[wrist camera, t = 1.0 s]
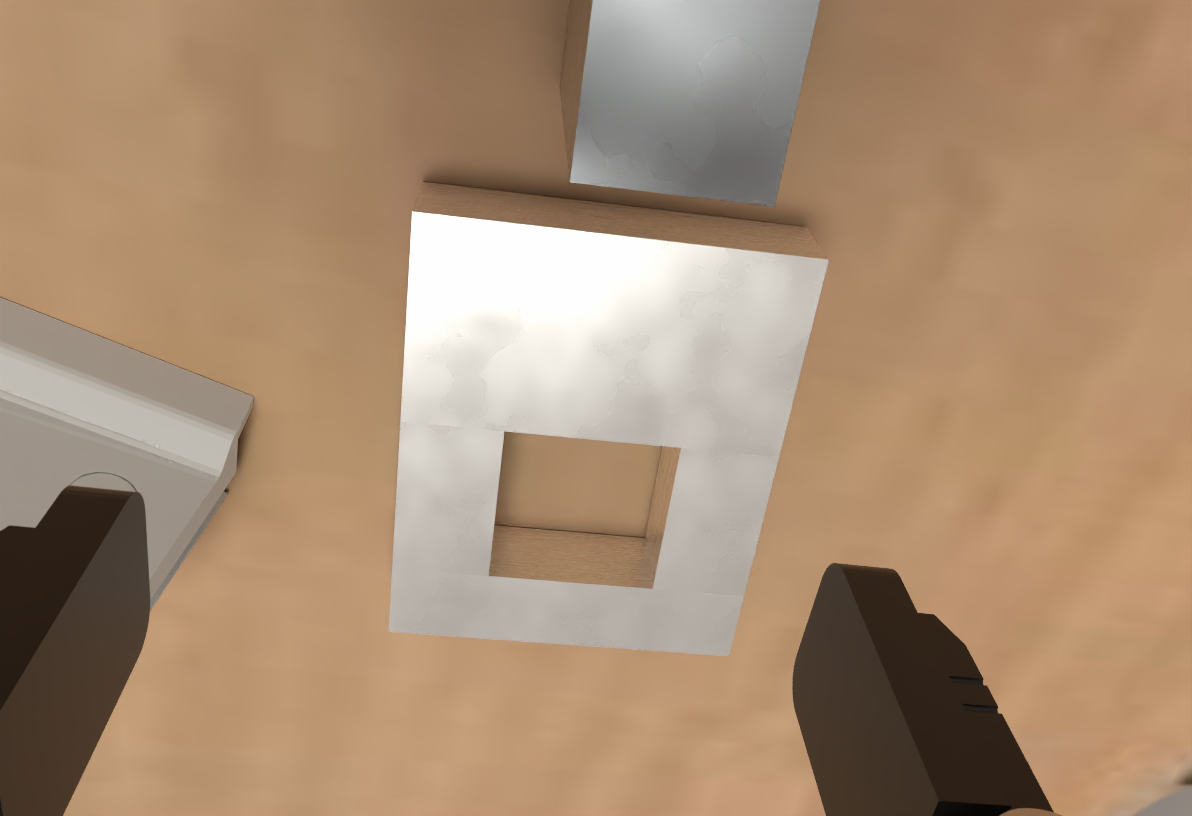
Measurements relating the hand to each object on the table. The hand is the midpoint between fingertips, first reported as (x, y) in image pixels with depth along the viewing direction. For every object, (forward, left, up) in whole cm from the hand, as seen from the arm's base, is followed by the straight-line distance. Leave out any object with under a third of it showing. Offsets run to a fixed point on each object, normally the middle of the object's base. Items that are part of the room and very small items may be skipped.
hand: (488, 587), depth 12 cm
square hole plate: (+9, +3, -21) cm, 24 cm away
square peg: (-4, +3, -22) cm, 22 cm away
